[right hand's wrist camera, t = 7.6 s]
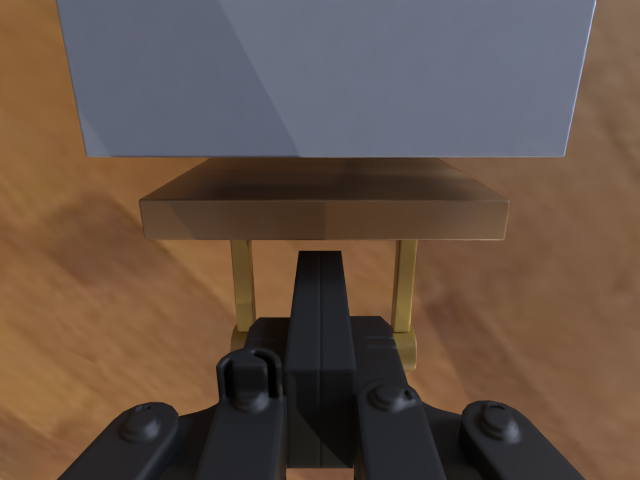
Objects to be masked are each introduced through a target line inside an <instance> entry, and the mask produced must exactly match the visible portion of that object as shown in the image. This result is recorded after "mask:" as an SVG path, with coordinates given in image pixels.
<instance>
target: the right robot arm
mask: <svg viewBox="0 0 640 480" xmlns="http://www.w3.org/2000/svg"><path fill="white" fill-rule="evenodd" d="M216 372H217V381H218V390H219V402H218V403H217V404H216V405H214V406H212V407H210V408H208V409H205V410H202V411H199V412H195V413H191V414H187V415H183V416H179V417H178V413H177V412H176V410H175V409H174V408H173V407H172V406H170V405H168V404H165V403H163V402H149V403H145V404H140V405H136V406H134V407H132V408H130V409H128V410H126V411H124V412H123V413H121V414H120V415H119V416H118V417H117V418H115V419H114V420H113V421H112V422H111V423H110V424H109V425H108V426H107V427H106V428H105V429H104V430H103V431H102V433H101V434H100V435H99V436H98V437H97V438H96V439H95V440H94V441H93V442H92V443H91V444H90V445H89V446H88V447H87V448H86V449H85V451H84V452H83V453H82V454H81V455H80V456H79V457H78V458H77V459H76V460H75V461H74V462H73V463H72V464H71V465H70V466H69V467H68V469H67V470H66V471H65V472H64V473H63V474H62V475H61V476H60V477H59V478H58V479H57V480H286V467H287V468H353V465H354V480H585V479H584V478H583V477H582V475H581V474H580V473H579V472H578V471H577V470H576V469H575V468H574V467H573V466H572V465H571V464H570V463H569V462H568V461H567V460H566V459H565V458H564V457H563V455H562V454H561V453H560V452H559V451H558V450H557V449H556V448H555V447H554V446H553V445H552V444H551V443H550V442H549V441H548V440H547V439H546V438H545V437H544V436H543V434H542V433H541V432H540V431H539V430H538V429H537V428H536V427H535V426H534V425H533V424H532V423H531V422H530V421H529V420H528V419H527V418H526V417H525V416H524V415H522V414H521V413H520V412H519V411H517V410H516V409H514V408H512V407H510V406H507V405H505V404H503V403H499V402H495V401H490V400H487V401H476V402H473V403H471V404H468V405H467V406H466V408H465V409H464V410H463V411H462V415H460V414H456V413H452V412H447V411H443V410H440V409H437V408H434V407H431V406H430V405H428V404H426V403H424V402H422V401H421V399H420V397H419V395H418V394H417V392H416V390H414V389H413V388H412V387H410V386H409V385H408V383H407V379H406V376H405V373H404V369H403V366H402V363H401V359H400V356H399V353H398V349H397V346H396V343H395V339H394V336H393V333H392V329H391V326H390V325H389V324H388V323H387V322H386V321H385V320H384V319H383V318H382V317H381V316H349V308H348V300H347V293H346V285H345V278H344V270H343V262H342V255H341V251H299V255H298V262H297V270H296V277H295V285H294V293H293V300H292V308H291V316H290V317H260V318H259V319H257V320H256V321H255V322H254V323H253V324H252V325H251V326H250V327H249V331H248V334H247V337H246V341H245V344H244V348H241V349H238V350H235V351H232V352H230V353H229V354H227V355H226V356H224V357H223V358H221V360H220V361H219V363H218V364H217V366H216Z"/></svg>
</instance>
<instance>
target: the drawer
mask: <svg viewBox="0 0 640 480" xmlns="http://www.w3.org/2000/svg"><path fill="white" fill-rule="evenodd" d="M510 203H511V202H510V200H509V199H507V198H505V197H504V196H502V195H500V194H498V193H497V192H495V191H493V190H492V189H490V188H488V187H486V186H485V185H483V184H481V183H479V182H478V181H476V180H474V179H473V178H471V177H469V176H467V175H466V174H464V173H462V172H460V171H459V170H457V169H455V168H454V167H452V166H450V165H448V164H447V163H445V162H443V161H441V160H440V159H438V158H210V159H208V160H206V161H204V162H203V163H201V164H199V165H198V166H196V167H194V168H192V169H191V170H189V171H187V172H186V173H184V174H182V175H181V176H179V177H177V178H175V179H174V180H172V181H170V182H169V183H167V184H165V185H164V186H162V187H160V188H158V189H157V190H155V191H153V192H152V193H150V194H148V195H147V196H145V197H143V198H142V199H140V200H139V206H140V212H141V218H142V225H143V231H144V237H145V239H146V240H230V241H231V254H232V266H233V278H234V291H235V303H236V315H237V325H235V327H234V330H233V333H232V339H231V351H230V352H232V351H235V350H238V349H241V348H244V344H245V341H246V337H247V334H248V331H249V327H250V326H251V325H252V324H253V323H254V322H255V321H256V310H255V294H254V278H253V262H252V246H251V240H397V243H396V258H395V272H394V287H393V301H392V316H391V325H390V326H391V329H392V333H393V336H394V339H395V343H396V346H397V349H398V353H399V356H400V359H401V363H402V366H403V369H404V372H413V371H414V370H415V368H416V362H417V345H416V337H415V333H414V329H413V327H412V326H411V325H410V320H411V309H412V297H413V286H414V275H415V263H416V252H417V240H504V239H505V233H506V227H507V221H508V215H509V209H510Z"/></svg>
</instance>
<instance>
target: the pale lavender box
mask: <svg viewBox="0 0 640 480" xmlns="http://www.w3.org/2000/svg"><path fill="white" fill-rule="evenodd" d="M56 4H57V9H58V14H59V19H60V24H61V29H62V35H63V40H64V45H65V50H66V55H67V60H68V65H69V70H70V75H71V80H72V86H73V91H74V96H75V101H76V106H77V111H78V116H79V121H80V126H81V131H82V137H83V142H84V147H85V152H86V155H87V156H88V157H564V155H565V151H566V146H567V141H568V137H569V132H570V127H571V122H572V117H573V112H574V107H575V102H576V97H577V93H578V88H579V83H580V78H581V73H582V68H583V63H584V58H585V53H586V49H587V44H588V39H589V34H590V29H591V24H592V19H593V14H594V9H595V5H596V0H56Z"/></svg>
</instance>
